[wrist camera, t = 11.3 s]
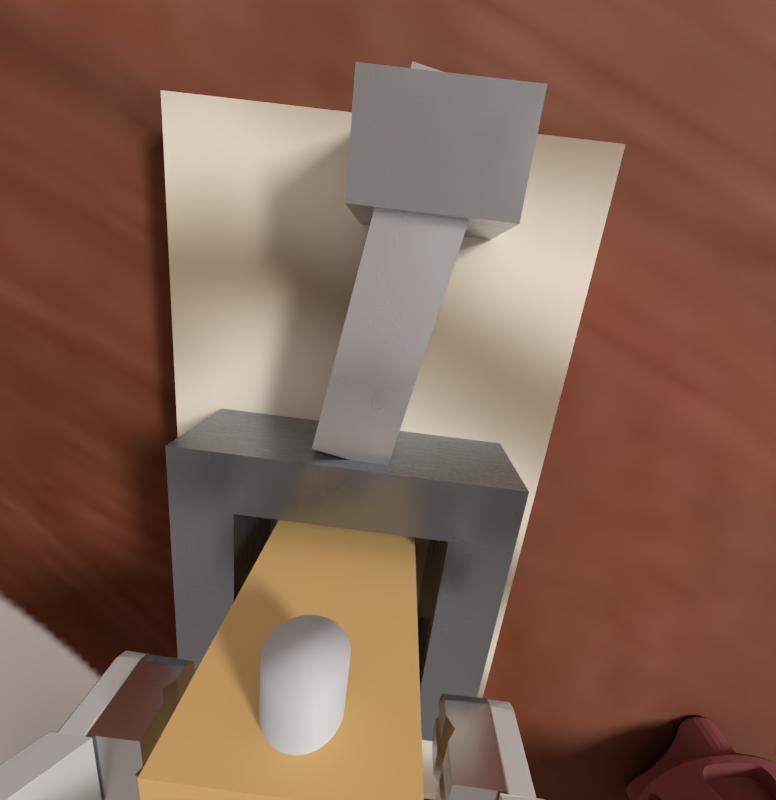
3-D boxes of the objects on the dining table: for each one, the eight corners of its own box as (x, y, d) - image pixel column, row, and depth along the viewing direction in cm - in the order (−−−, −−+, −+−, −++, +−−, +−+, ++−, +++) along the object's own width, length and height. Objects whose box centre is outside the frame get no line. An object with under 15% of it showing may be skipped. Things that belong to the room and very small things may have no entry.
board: (451, 762, 19) (455, 802, 17) (209, 730, 19) (193, 767, 17) (596, 162, 11) (625, 144, 10) (192, 115, 11) (160, 90, 10)
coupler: (394, 621, 14) (382, 1003, 7) (290, 607, 14) (159, 972, 7) (418, 470, 13) (437, 757, 5) (298, 454, 13) (130, 716, 5)
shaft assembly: (422, 798, 17) (425, 901, 14) (226, 772, 17) (190, 868, 14) (567, 135, 10) (634, 71, 7) (217, 94, 10) (140, 14, 7)
